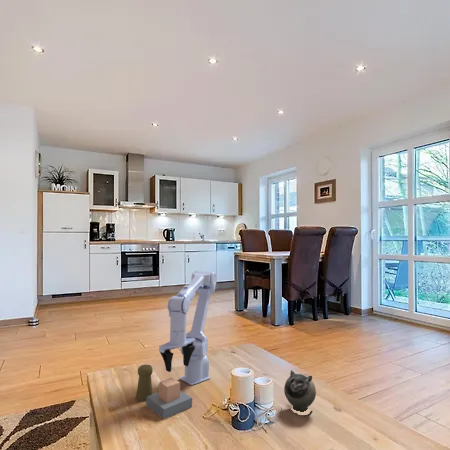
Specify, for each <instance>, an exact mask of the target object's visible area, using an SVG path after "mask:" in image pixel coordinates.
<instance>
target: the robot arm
mask: <svg viewBox="0 0 450 450" xmlns="http://www.w3.org/2000/svg"><path fill="white" fill-rule="evenodd" d="M216 286H217V274H216V272H215V271H203V270H202V271H200V270H194V271H193V272H192V273H191V280H190V282H189V283H188V284H187V285H186V284H185V285H184V286H183V287H182V288H181V289H180V291H179V292H178V293H177V294H176V295H172V296H171V297H170V298H169V299H168V302H167V311H168V317H170V320H169V321H170V323H169V324H170V327H169V329H170V331H169V341H168V342H165V343H164V344H161V345H159V346H158V348H159V349H158V351H159V354H160V355H161V356H162V359H163V362H164V366H165V370H166V371H167V373H170V372H172V362H173V357H174V353H173V352H172V350H175V349H180V353H181V355H182V356H183V357H182V359H183V360H182V362H183V365H184V375H183V376H180V378H179V379H180V380H181V381H183V382H185V383H187V384H188V385H191V386H193V385H197V384H199V383H201V382H204V381H207V380H210V378H211V377H210V375H209V371H210V370H209V369H210V368H209V367H210V365H209V364H210V361H209V358H208V356H207V352H208V343H209V340H208V337H207V336H206V335H205V334H204V328H205V325H206V318H207V314H208V309H209V304H210V298H211V295H212V294H214V293H215V291H216ZM197 293H198V298H197V303H196V308H195V311H194V317H193V321H192V326H191V330H190V331H189V332H187V313H188V312H189V310H190V306H191V304H192V303H191V302H192V301H193V300H194V298H195V297H196V295H197Z"/></svg>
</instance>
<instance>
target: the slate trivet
mask: <svg viewBox="0 0 450 450" xmlns="http://www.w3.org/2000/svg"><path fill="white" fill-rule="evenodd" d="M145 406H146V407H147V408H149V410H151V411H152V412H154V413H155V414H157V415H158V416H159V417H161V418H162V419H163V420H166V419H168V418H170V417H172V416H175V415H177V414H179V413H182V412H184V411H186V410H188V409H190V408H193V397H191V396H190V395H189V394H186V393H185V392H183V391H181V390H180V398H178V399H175V400H173V401H170V402H168V403H167V402H166V401H164V400H163V399H161V398H160V397H159V391H158V392H155V393H153V394H152V395H149V396H146V401H145Z"/></svg>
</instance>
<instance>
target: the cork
mask: <svg viewBox="0 0 450 450" xmlns="http://www.w3.org/2000/svg"><path fill="white" fill-rule="evenodd" d="M152 374H153V367H152V365H150V364H142V365H139V366H138V369H137V375H138V381H137V387H136V392H135V393H136V394H135V400H136V401H138V402H146V396H149V395H152V394H154V393H153V382H152Z"/></svg>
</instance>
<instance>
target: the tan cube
mask: <svg viewBox="0 0 450 450" xmlns="http://www.w3.org/2000/svg"><path fill="white" fill-rule="evenodd" d="M158 383H159V384H158V392H159V397H160V398H161V399H163V400H164V401H166V402H167V403H168V402H170V401H173V400H175V399H178V398H180V391H181V382H180V381H178V380H176V379H175V378H173V377H170V378H167V379H164V380H161V381H159V382H158Z"/></svg>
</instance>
